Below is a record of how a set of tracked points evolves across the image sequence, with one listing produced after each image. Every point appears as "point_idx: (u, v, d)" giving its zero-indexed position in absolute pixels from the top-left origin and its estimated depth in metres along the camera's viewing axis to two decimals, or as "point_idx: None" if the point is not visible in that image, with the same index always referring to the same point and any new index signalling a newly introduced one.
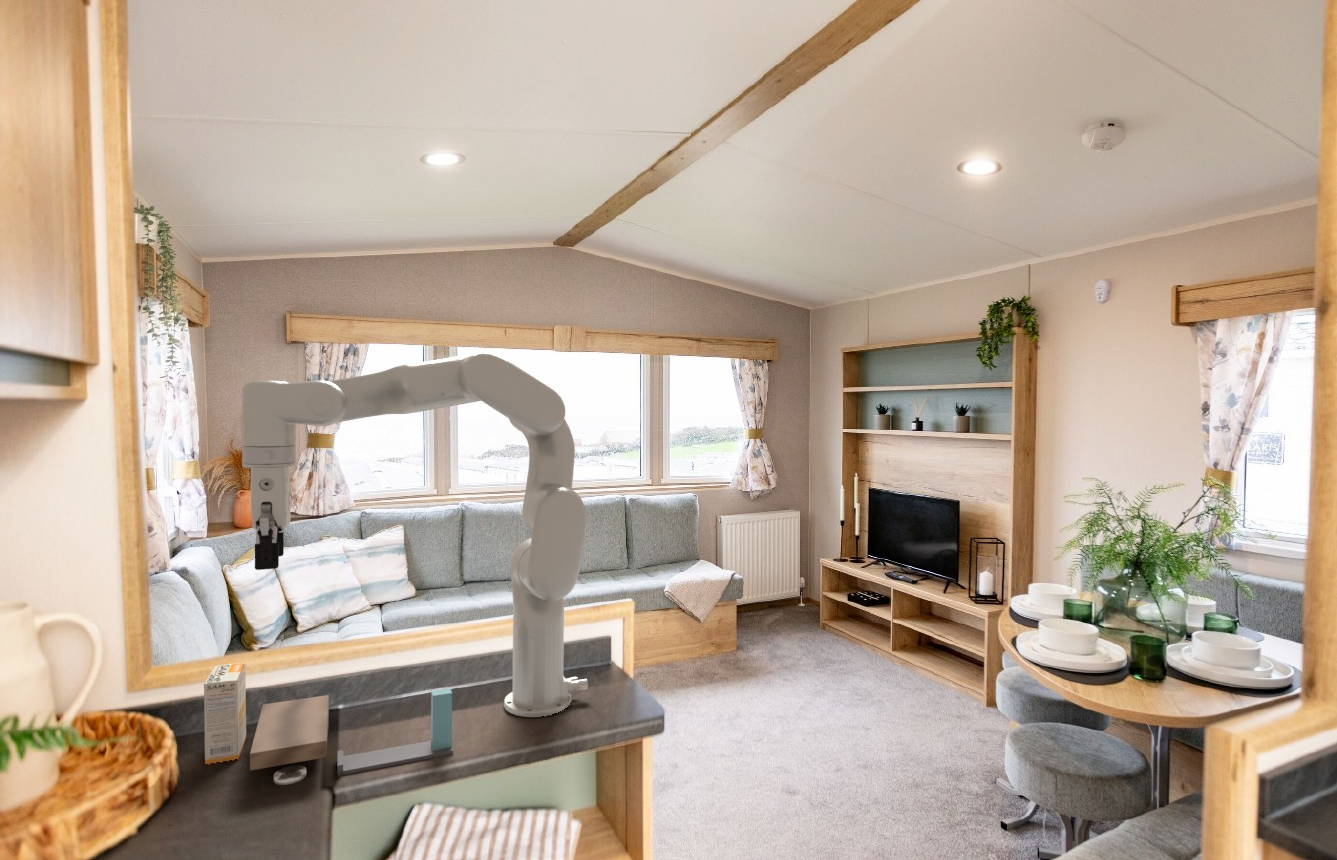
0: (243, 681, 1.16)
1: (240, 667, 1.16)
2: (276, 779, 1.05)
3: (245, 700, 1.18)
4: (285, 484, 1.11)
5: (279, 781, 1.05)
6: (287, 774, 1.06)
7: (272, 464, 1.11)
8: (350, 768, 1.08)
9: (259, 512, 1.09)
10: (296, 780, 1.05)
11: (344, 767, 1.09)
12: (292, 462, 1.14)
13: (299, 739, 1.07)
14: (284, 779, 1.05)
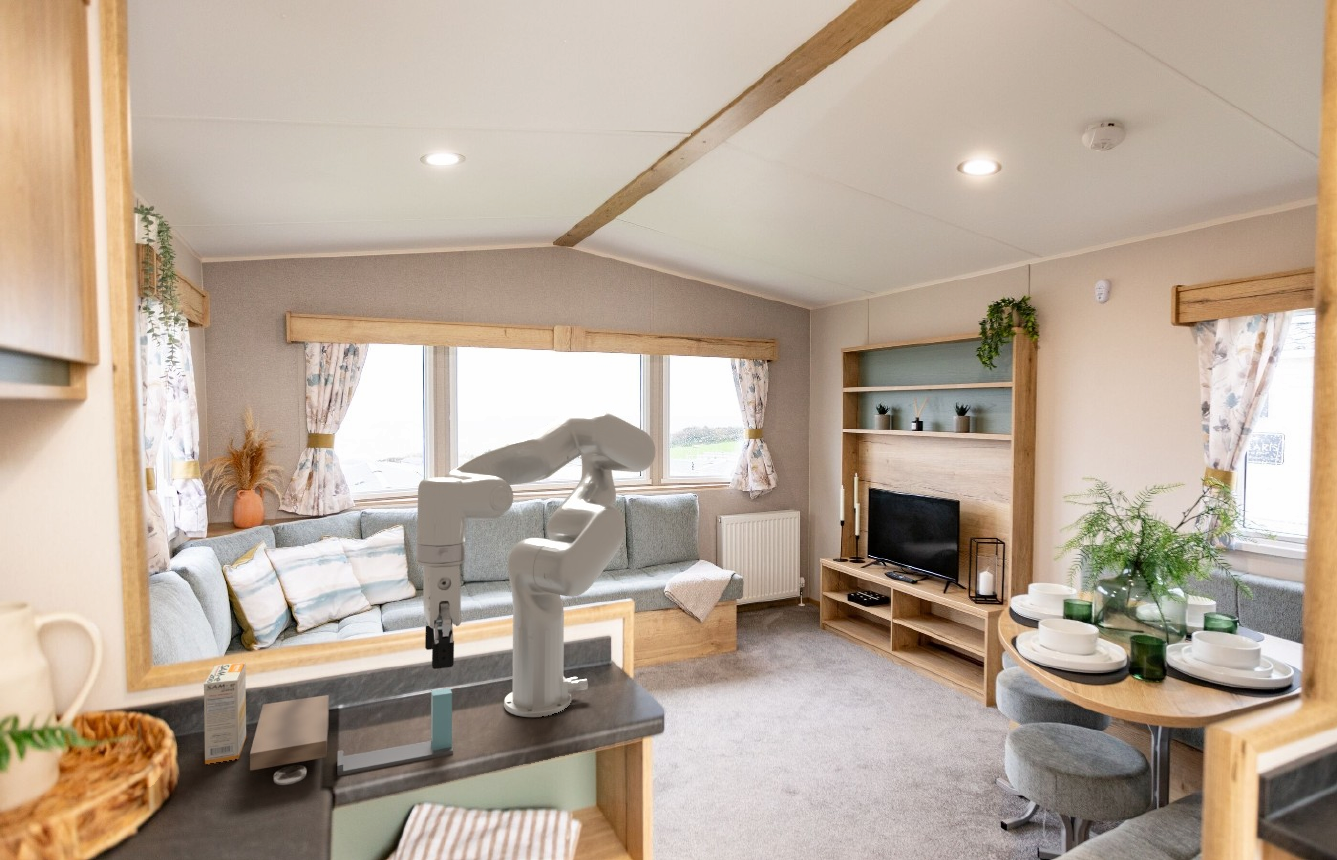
0: (243, 681, 1.16)
1: (240, 667, 1.16)
2: (276, 779, 1.05)
3: (245, 700, 1.18)
4: None
5: (279, 781, 1.05)
6: (287, 774, 1.06)
7: (448, 563, 1.12)
8: (350, 768, 1.08)
9: (437, 611, 1.10)
10: (296, 780, 1.05)
11: (344, 767, 1.09)
12: (463, 558, 1.15)
13: (299, 739, 1.07)
14: (284, 779, 1.05)
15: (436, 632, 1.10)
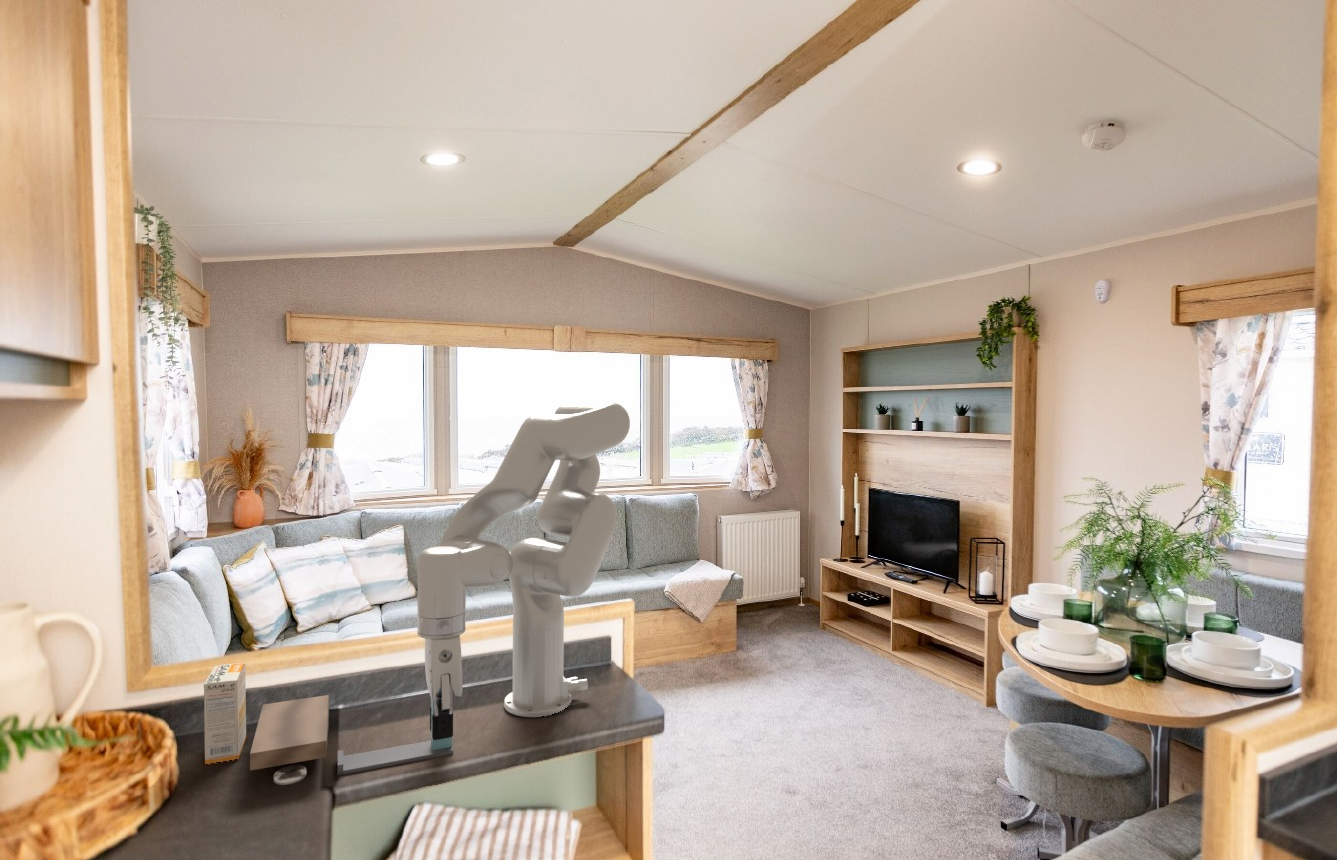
0: (243, 681, 1.16)
1: (239, 667, 1.16)
2: (276, 779, 1.05)
3: (245, 700, 1.18)
4: None
5: (279, 781, 1.05)
6: (287, 774, 1.06)
7: (449, 635, 1.12)
8: (351, 768, 1.08)
9: (439, 684, 1.11)
10: (296, 780, 1.05)
11: (344, 767, 1.09)
12: (464, 628, 1.15)
13: (299, 739, 1.07)
14: (284, 779, 1.05)
15: (436, 707, 1.13)
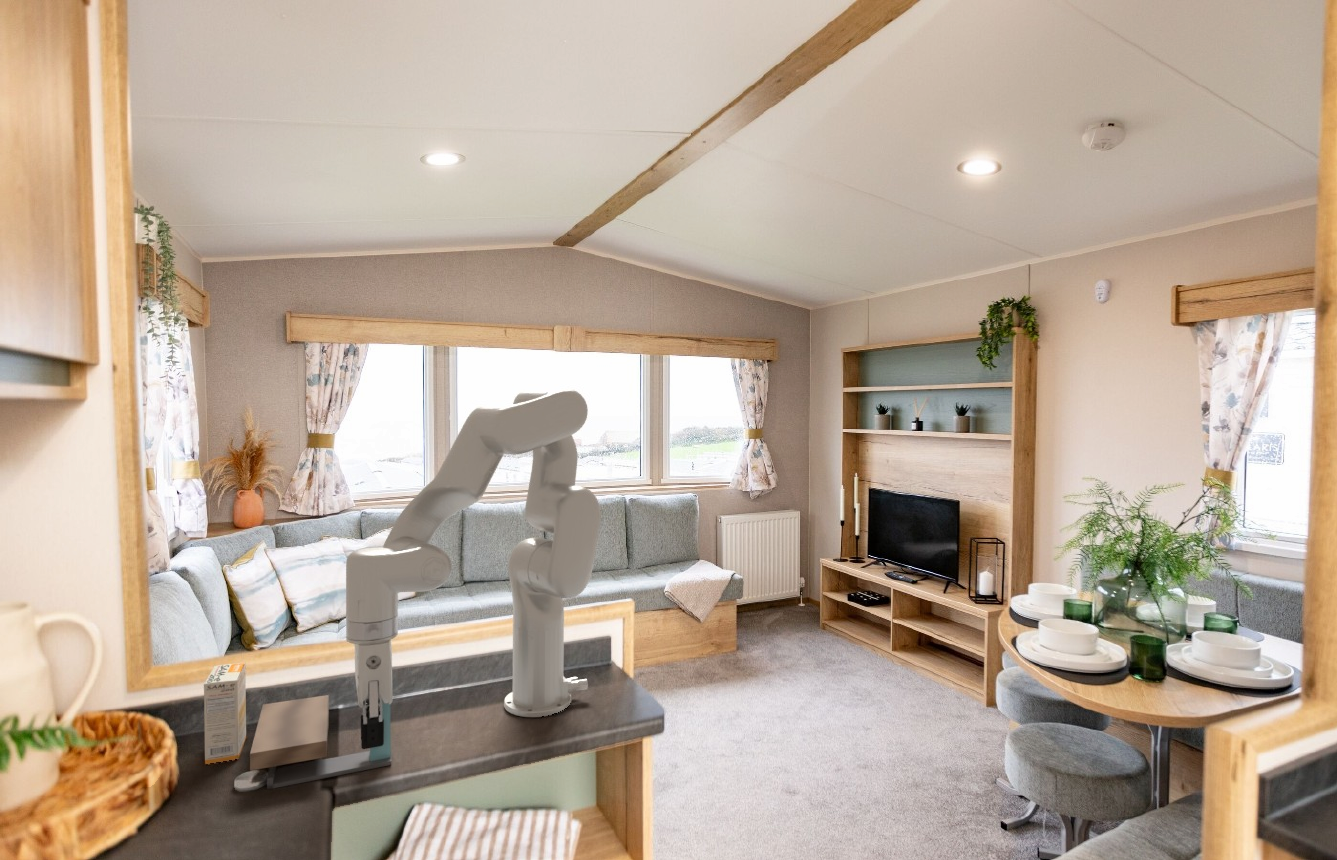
0: (243, 681, 1.16)
1: (239, 667, 1.16)
2: (237, 784, 1.03)
3: (245, 700, 1.18)
4: (391, 659, 1.09)
5: (240, 786, 1.03)
6: (248, 779, 1.04)
7: (378, 639, 1.08)
8: (281, 781, 1.04)
9: (366, 691, 1.06)
10: (258, 785, 1.03)
11: (275, 780, 1.05)
12: (395, 633, 1.11)
13: (299, 739, 1.07)
14: (245, 784, 1.03)
15: (365, 715, 1.08)
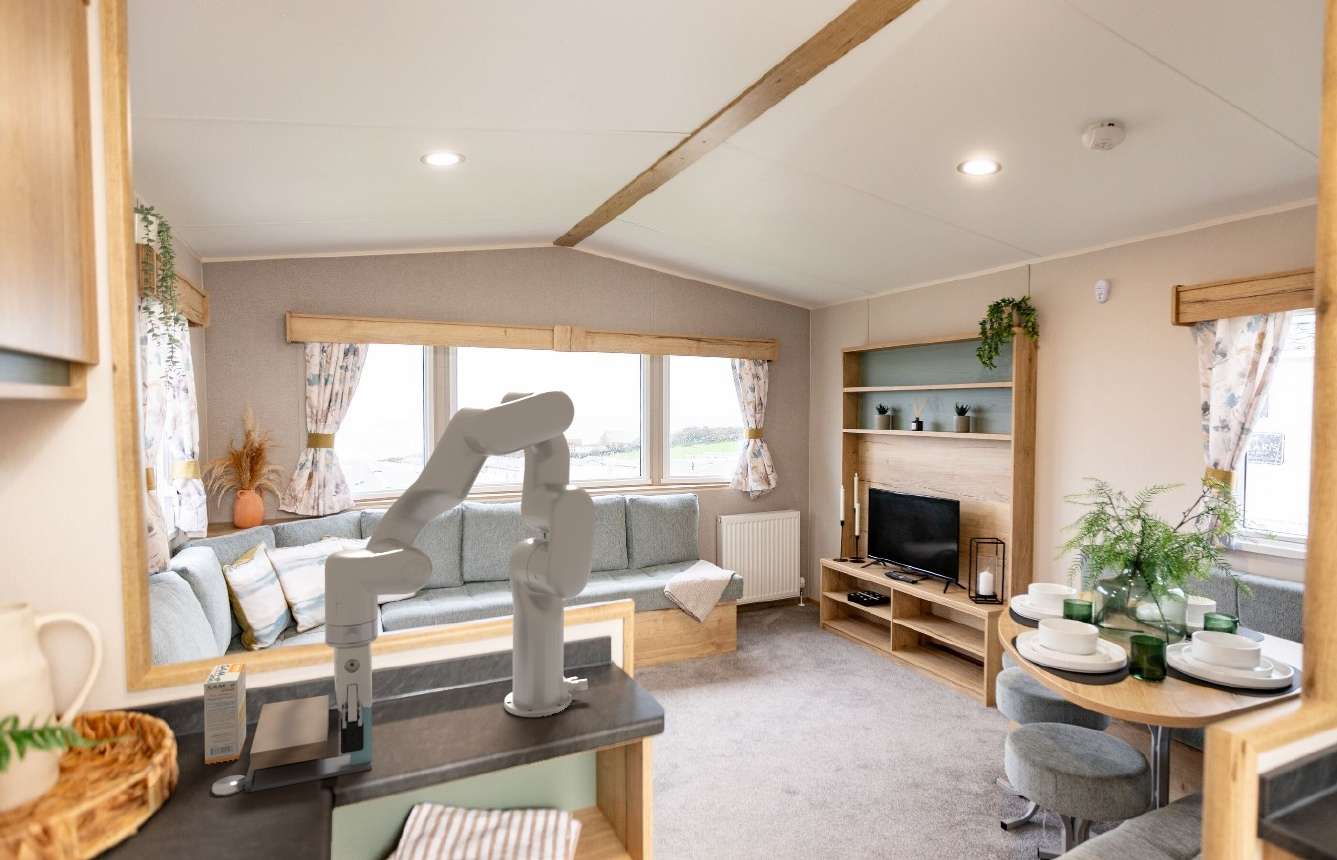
0: (243, 681, 1.16)
1: (240, 667, 1.16)
2: (215, 790, 1.02)
3: (245, 700, 1.18)
4: (370, 662, 1.07)
5: (218, 792, 1.02)
6: (226, 784, 1.03)
7: (357, 643, 1.07)
8: (260, 784, 1.03)
9: (345, 695, 1.05)
10: (236, 790, 1.02)
11: (253, 783, 1.03)
12: (375, 636, 1.10)
13: (299, 739, 1.07)
14: (223, 790, 1.02)
15: (344, 719, 1.07)
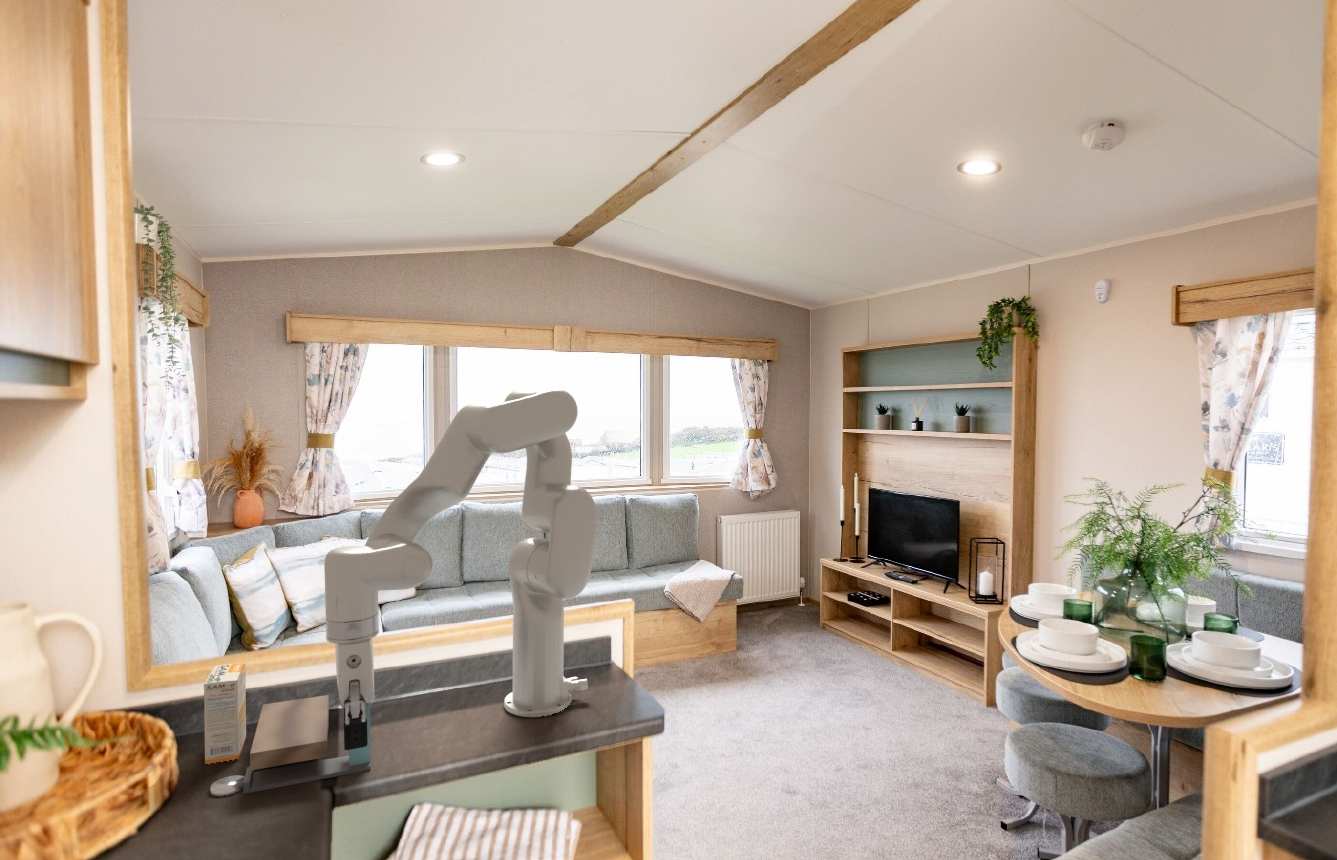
0: (243, 681, 1.16)
1: (240, 667, 1.16)
2: (213, 790, 1.02)
3: (245, 700, 1.18)
4: (371, 658, 1.08)
5: (216, 792, 1.01)
6: (225, 785, 1.03)
7: (358, 638, 1.07)
8: (258, 785, 1.03)
9: (347, 691, 1.05)
10: (234, 790, 1.02)
11: (251, 784, 1.03)
12: (376, 631, 1.10)
13: (299, 739, 1.07)
14: (222, 790, 1.02)
15: (347, 712, 1.05)
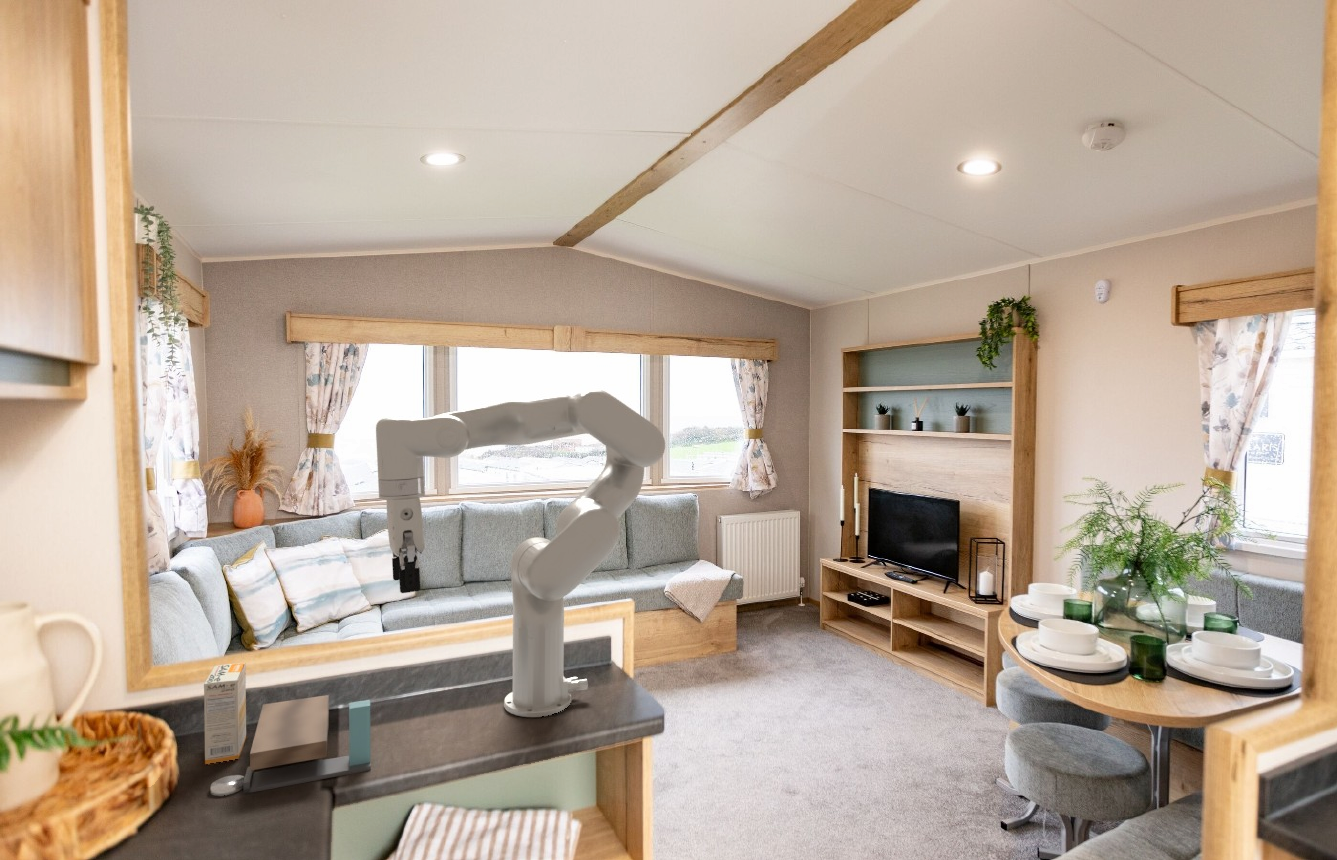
0: (243, 681, 1.16)
1: (240, 667, 1.16)
2: (212, 789, 1.02)
3: (245, 700, 1.18)
4: (421, 513, 1.21)
5: (215, 791, 1.01)
6: (225, 784, 1.03)
7: (409, 495, 1.20)
8: (258, 785, 1.03)
9: (402, 540, 1.18)
10: (233, 791, 1.02)
11: (252, 784, 1.03)
12: (423, 492, 1.23)
13: (299, 739, 1.07)
14: (221, 789, 1.02)
15: (402, 559, 1.18)
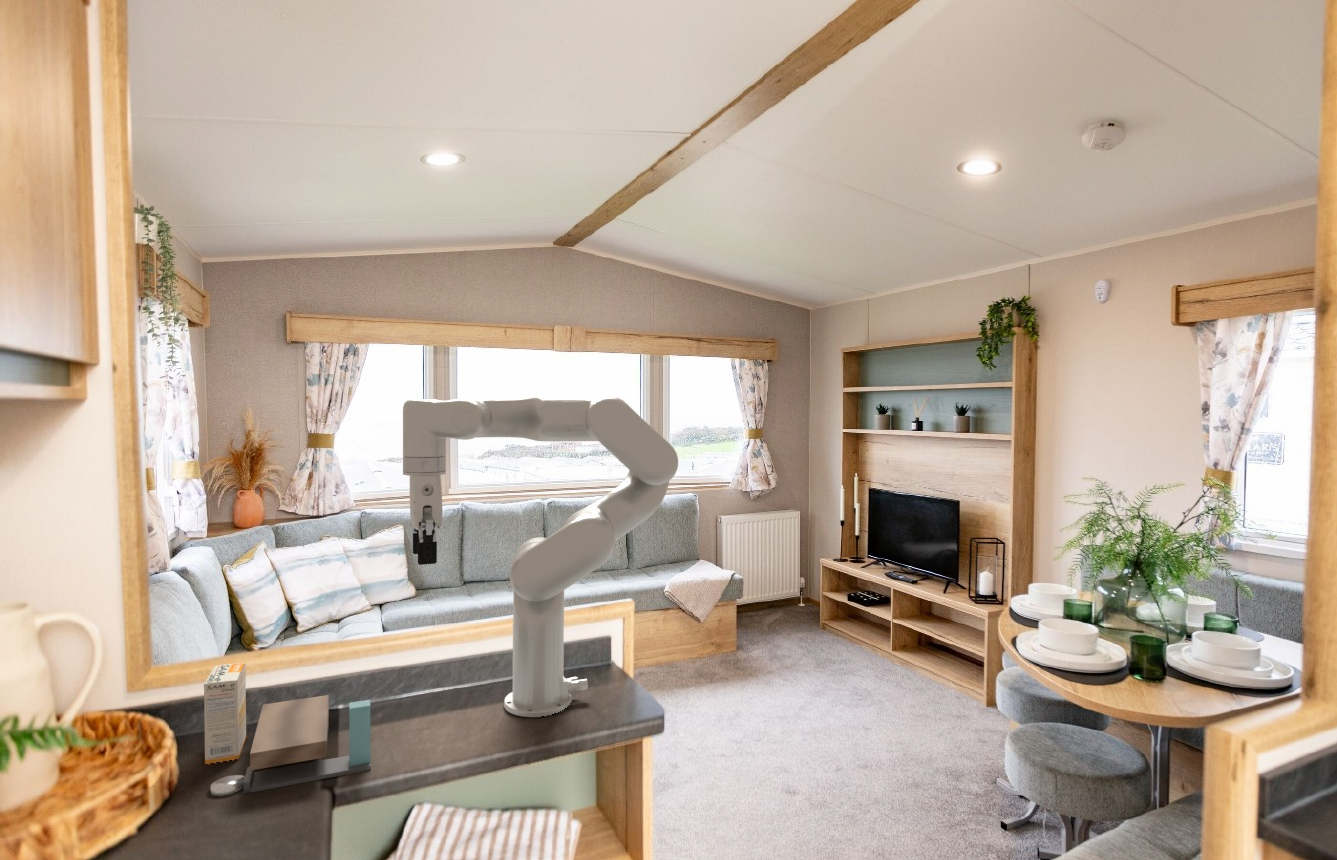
0: (243, 681, 1.16)
1: (240, 667, 1.16)
2: (211, 788, 1.02)
3: (245, 700, 1.18)
4: (441, 490, 1.27)
5: (213, 790, 1.02)
6: (224, 783, 1.03)
7: (430, 472, 1.27)
8: (258, 785, 1.03)
9: (421, 514, 1.25)
10: (230, 790, 1.02)
11: (252, 784, 1.03)
12: (444, 470, 1.30)
13: (299, 739, 1.07)
14: (218, 788, 1.02)
15: (421, 532, 1.25)
